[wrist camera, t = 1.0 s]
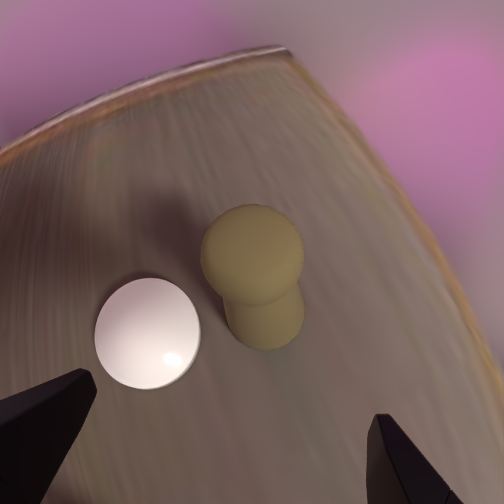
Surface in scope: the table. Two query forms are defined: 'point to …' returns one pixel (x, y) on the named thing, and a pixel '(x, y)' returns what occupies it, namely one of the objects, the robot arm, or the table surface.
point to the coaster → (147, 334)
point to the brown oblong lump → (256, 274)
